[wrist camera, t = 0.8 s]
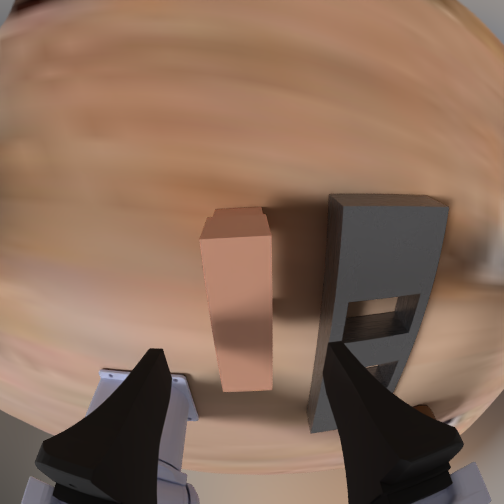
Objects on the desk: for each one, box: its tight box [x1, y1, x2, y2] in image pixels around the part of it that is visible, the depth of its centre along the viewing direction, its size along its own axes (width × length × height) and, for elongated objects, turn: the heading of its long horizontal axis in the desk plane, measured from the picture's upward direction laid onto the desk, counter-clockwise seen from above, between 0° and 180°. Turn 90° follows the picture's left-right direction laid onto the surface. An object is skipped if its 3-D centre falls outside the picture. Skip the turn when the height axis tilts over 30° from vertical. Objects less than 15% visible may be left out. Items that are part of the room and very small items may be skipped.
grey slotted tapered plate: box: [307, 194, 449, 433], centre depth 22 cm, size 8×24×3 cm, turn 2°
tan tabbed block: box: [199, 207, 272, 392], centre depth 17 cm, size 3×10×7 cm, turn 2°
